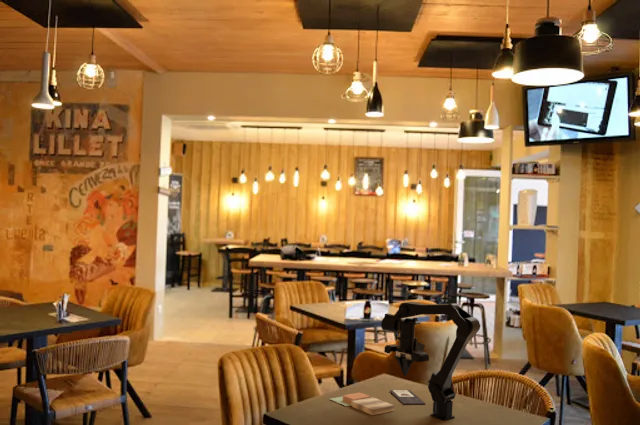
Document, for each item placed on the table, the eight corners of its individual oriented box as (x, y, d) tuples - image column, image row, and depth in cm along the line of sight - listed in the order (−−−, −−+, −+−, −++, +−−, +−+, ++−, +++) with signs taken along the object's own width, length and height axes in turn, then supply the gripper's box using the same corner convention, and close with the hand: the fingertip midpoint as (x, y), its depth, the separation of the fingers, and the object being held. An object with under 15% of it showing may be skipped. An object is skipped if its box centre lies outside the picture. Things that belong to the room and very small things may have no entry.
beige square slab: (394, 410, 230) (394, 405, 230) (372, 415, 223) (372, 409, 223) (372, 402, 239) (372, 397, 239) (350, 406, 232) (351, 401, 232)
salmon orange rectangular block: (370, 401, 239) (370, 396, 239) (352, 404, 233) (353, 399, 233) (359, 397, 243) (360, 392, 243) (342, 400, 238) (342, 395, 238)
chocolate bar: (403, 403, 238) (389, 390, 256) (403, 405, 238) (389, 392, 256) (425, 403, 240) (410, 390, 258) (425, 405, 240) (409, 392, 258)
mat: (375, 401, 241) (375, 400, 241) (346, 406, 232) (346, 405, 232) (358, 394, 249) (358, 393, 249) (329, 399, 239) (329, 398, 239)
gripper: (439, 337, 234) (437, 378, 233) (404, 329, 248) (402, 367, 248) (419, 339, 227) (417, 382, 226) (384, 330, 241) (382, 370, 241)
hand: (404, 375), depth 236 cm, fingers closed
